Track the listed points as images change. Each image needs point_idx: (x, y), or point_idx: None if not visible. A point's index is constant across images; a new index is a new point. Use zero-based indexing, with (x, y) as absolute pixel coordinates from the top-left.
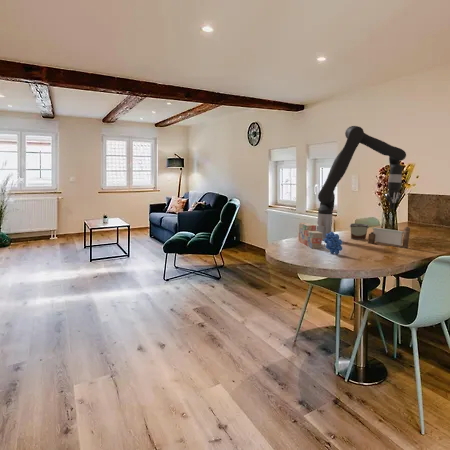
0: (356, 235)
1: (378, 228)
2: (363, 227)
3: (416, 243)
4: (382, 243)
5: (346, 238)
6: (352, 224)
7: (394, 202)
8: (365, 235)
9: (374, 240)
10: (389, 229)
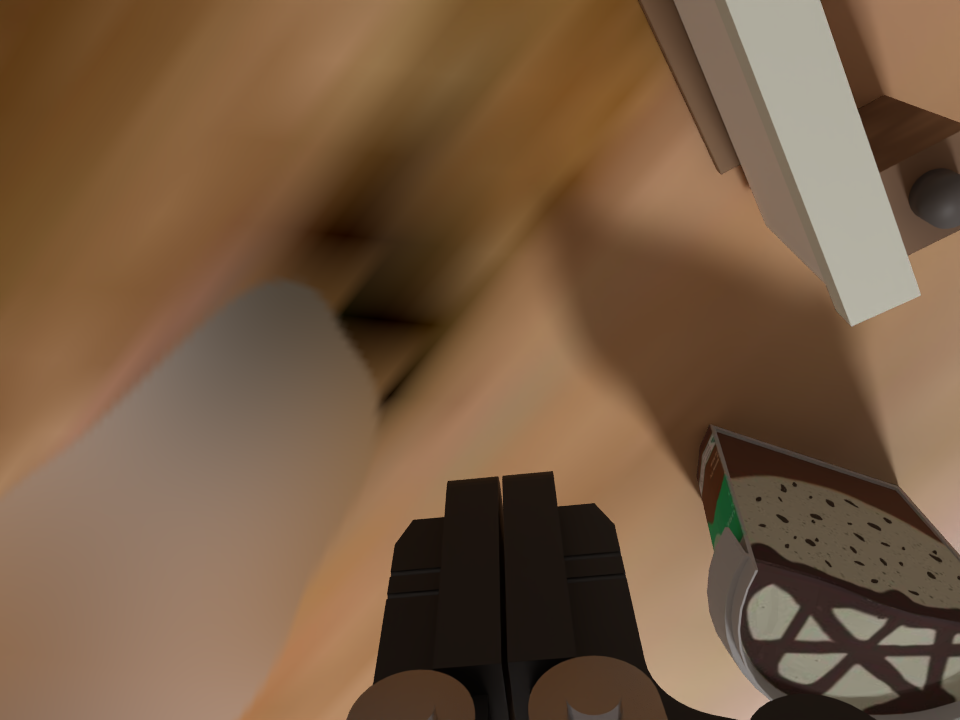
0: (854, 500)
1: (881, 184)
2: (814, 560)
3: (11, 12)
4: None
5: (943, 521)
6: (922, 711)
7: (469, 696)
8: (727, 462)
9: None
10: (727, 4)
